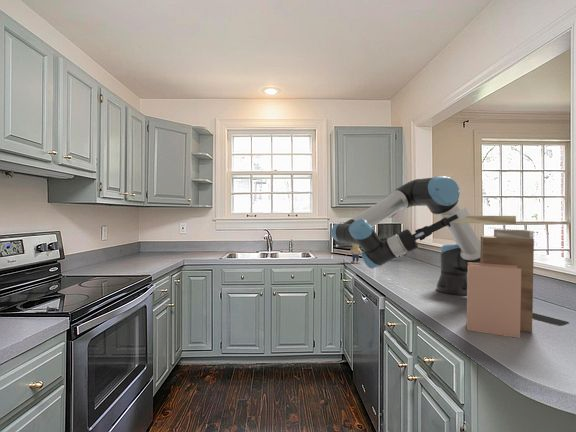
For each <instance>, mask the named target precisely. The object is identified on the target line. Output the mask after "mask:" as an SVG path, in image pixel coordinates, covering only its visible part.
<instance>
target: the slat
mask: <svg viewBox="0 0 576 432" xmlns="http://www.w3.org/2000/svg"><path fill="white" fill-rule="evenodd" d="M447 216H449V215H443V218H446V217H447ZM446 219H447V218H446ZM454 223H469V224H484V225H485V224H487V225H489V224H490V225H491V224H492V225H493V224H495V225H496V224H497V225H498V224H499V225H502V224H504V225H516V224H517V216H516V215H468V216H466V217H464V218H462V219H460V220H458V221H456V222H454Z"/></svg>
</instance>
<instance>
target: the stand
mask: <svg viewBox="0 0 576 432" xmlns="http://www.w3.org/2000/svg"><path fill="white" fill-rule="evenodd" d="M480 241H481V250H480V263H485V264H500V265H514V266H517V268H518V269H521V311H520V332H521V331H522V332H523V331H524V332H530V333H533V319H532V313H534V312H533V309H534V306H533V301H534V299H533V297H534V295H533V294H534V257H535V256H534V253H535V250H534V248H535V247H534V246H535V239H534V230H531V229H529V230H528V229H502V228H501V229H500V228H499V229H498V228H494V229H493V235H480Z"/></svg>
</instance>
